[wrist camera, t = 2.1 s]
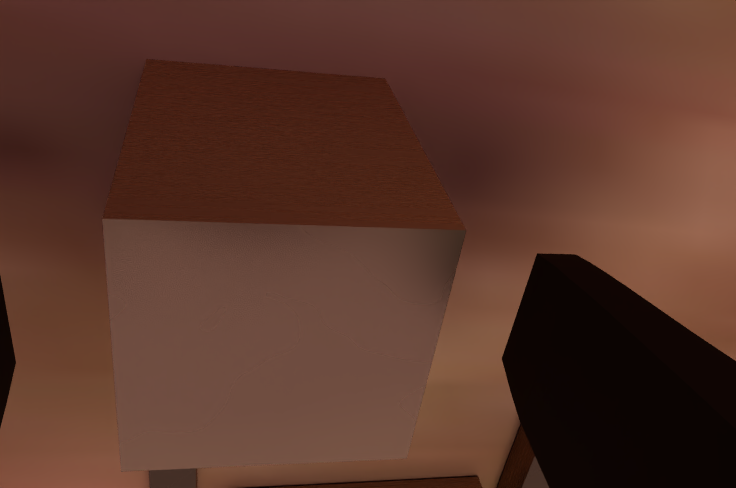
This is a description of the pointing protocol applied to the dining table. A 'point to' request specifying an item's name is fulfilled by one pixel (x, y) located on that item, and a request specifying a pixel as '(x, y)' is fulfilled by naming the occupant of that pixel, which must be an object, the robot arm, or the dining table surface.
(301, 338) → the block
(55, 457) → the dining table surface
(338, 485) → the block
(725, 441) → the robot arm
